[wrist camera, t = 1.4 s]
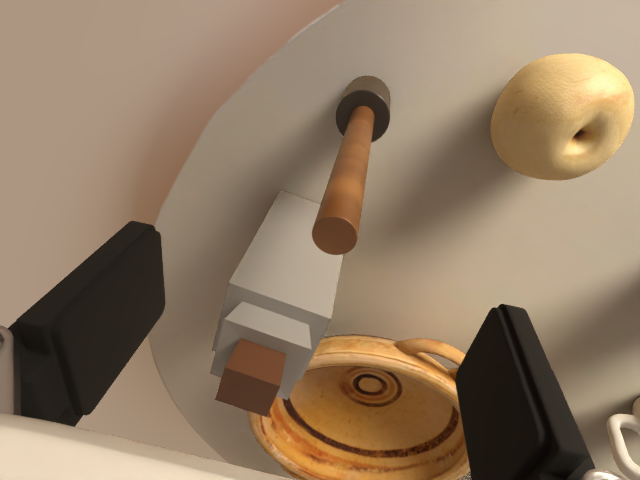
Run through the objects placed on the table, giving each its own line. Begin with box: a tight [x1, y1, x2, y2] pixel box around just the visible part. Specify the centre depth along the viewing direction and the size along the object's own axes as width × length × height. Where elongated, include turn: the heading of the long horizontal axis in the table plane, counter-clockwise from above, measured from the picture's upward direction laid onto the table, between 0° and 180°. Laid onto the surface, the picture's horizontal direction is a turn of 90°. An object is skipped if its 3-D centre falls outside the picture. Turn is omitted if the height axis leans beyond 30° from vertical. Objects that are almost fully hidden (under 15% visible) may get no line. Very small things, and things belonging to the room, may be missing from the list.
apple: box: [491, 54, 634, 180], centre depth 26 cm, size 8×8×8 cm
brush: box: [312, 76, 390, 255], centre depth 22 cm, size 4×4×20 cm
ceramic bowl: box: [248, 334, 470, 480], centre depth 44 cm, size 30×24×8 cm
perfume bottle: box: [210, 190, 343, 417], centre depth 30 cm, size 7×7×18 cm
